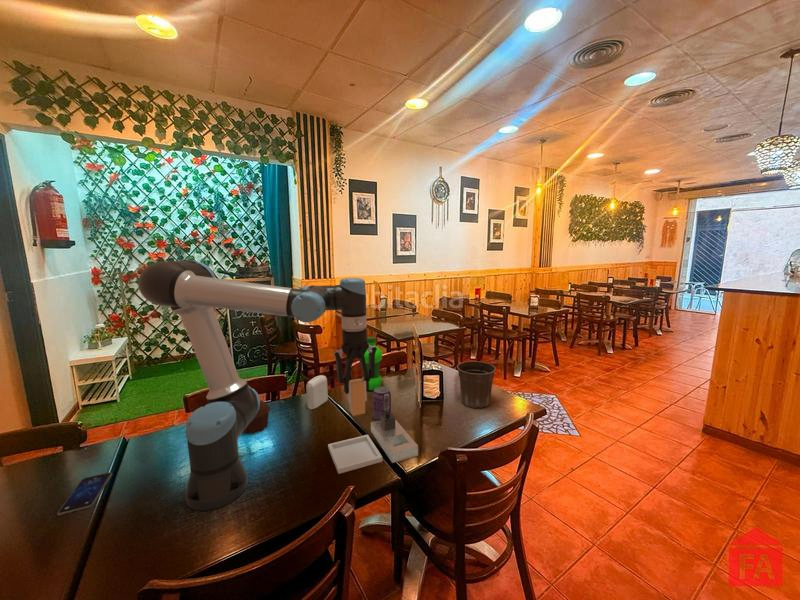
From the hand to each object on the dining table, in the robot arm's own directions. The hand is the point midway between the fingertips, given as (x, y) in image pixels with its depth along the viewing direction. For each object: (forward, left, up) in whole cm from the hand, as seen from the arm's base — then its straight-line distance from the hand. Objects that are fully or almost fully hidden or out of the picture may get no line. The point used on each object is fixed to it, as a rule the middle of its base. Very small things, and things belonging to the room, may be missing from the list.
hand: (357, 400), depth 104 cm
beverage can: (+16, +19, -19) cm, 31 cm away
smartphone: (-73, +15, -20) cm, 77 cm away
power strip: (+13, +1, -19) cm, 23 cm away
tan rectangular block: (0, 0, -4) cm, 4 cm away
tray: (-1, 0, -19) cm, 19 cm away
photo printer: (-5, +42, -19) cm, 47 cm away
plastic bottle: (+22, +48, -19) cm, 56 cm away
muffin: (-30, +33, -19) cm, 49 cm away
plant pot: (+58, +15, -19) cm, 63 cm away
